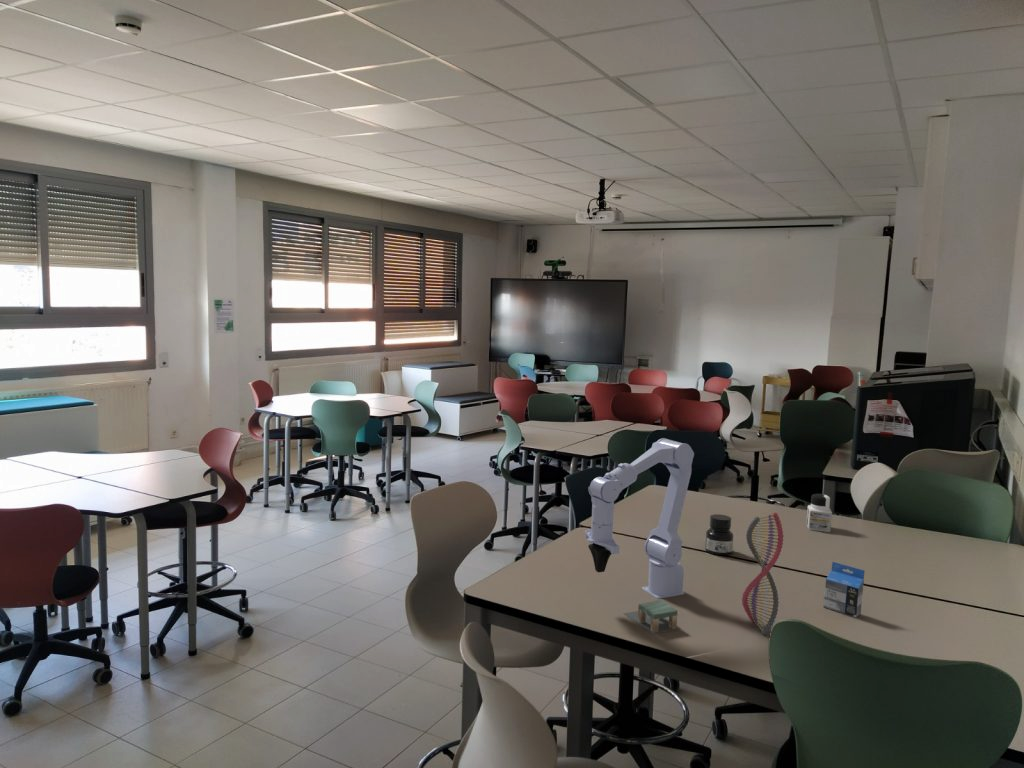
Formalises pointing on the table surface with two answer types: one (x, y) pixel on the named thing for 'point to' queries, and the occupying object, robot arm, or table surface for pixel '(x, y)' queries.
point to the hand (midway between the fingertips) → (600, 571)
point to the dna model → (763, 571)
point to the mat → (647, 625)
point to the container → (819, 513)
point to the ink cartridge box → (844, 590)
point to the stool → (657, 614)
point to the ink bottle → (719, 535)
